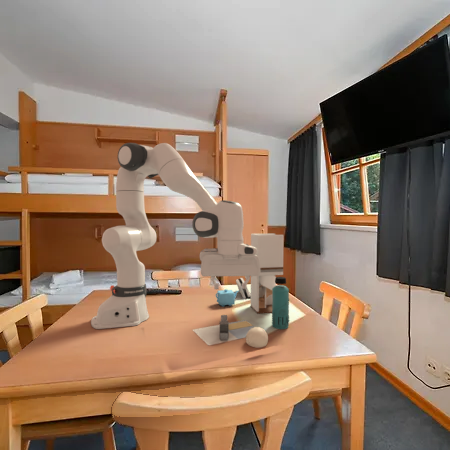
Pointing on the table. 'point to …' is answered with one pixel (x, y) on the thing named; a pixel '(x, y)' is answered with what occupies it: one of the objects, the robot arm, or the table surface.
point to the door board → (213, 332)
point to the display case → (266, 270)
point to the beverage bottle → (280, 304)
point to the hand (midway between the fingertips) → (230, 288)
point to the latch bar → (224, 330)
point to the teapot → (226, 297)
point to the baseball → (257, 337)
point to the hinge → (243, 291)
